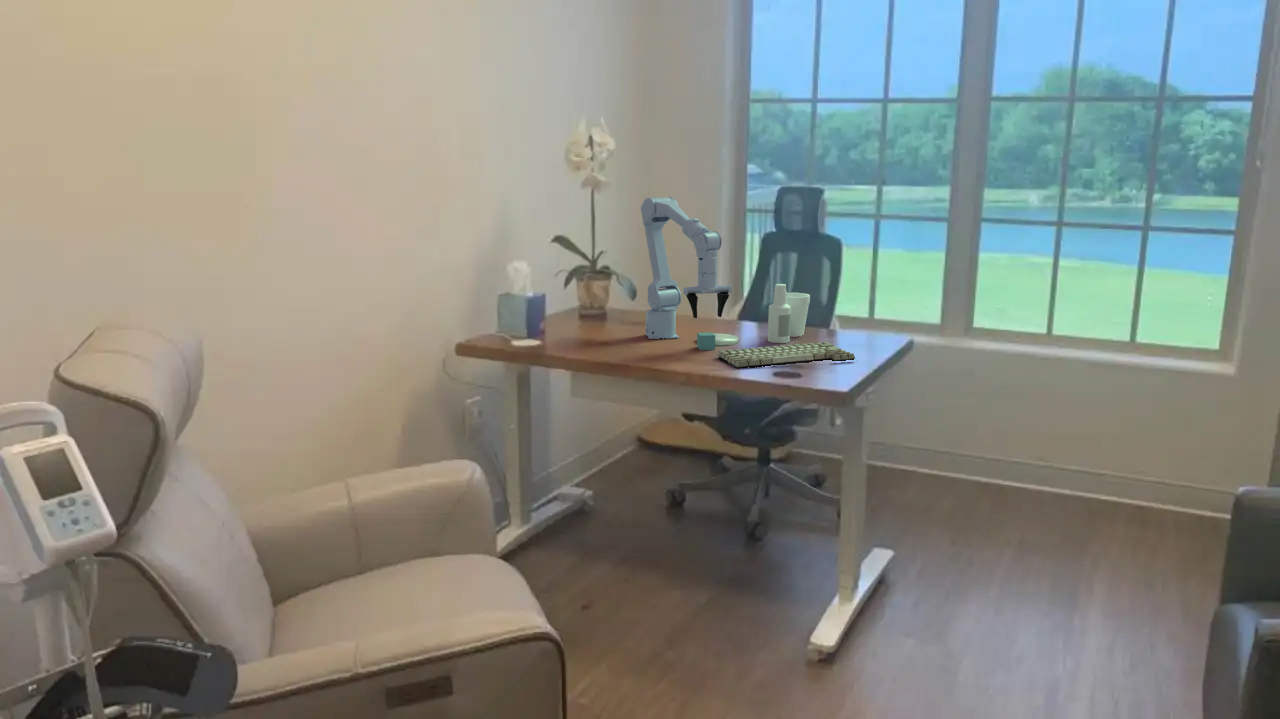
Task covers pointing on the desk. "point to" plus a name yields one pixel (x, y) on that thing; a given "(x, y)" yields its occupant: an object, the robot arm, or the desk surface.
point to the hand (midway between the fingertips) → (707, 317)
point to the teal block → (706, 341)
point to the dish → (725, 339)
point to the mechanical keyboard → (783, 355)
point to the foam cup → (798, 312)
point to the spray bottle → (779, 316)
